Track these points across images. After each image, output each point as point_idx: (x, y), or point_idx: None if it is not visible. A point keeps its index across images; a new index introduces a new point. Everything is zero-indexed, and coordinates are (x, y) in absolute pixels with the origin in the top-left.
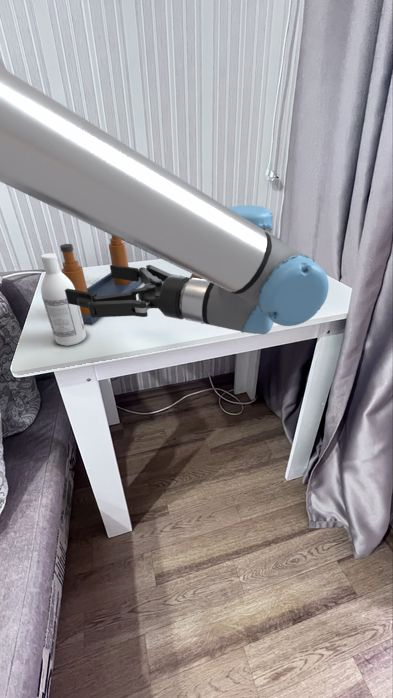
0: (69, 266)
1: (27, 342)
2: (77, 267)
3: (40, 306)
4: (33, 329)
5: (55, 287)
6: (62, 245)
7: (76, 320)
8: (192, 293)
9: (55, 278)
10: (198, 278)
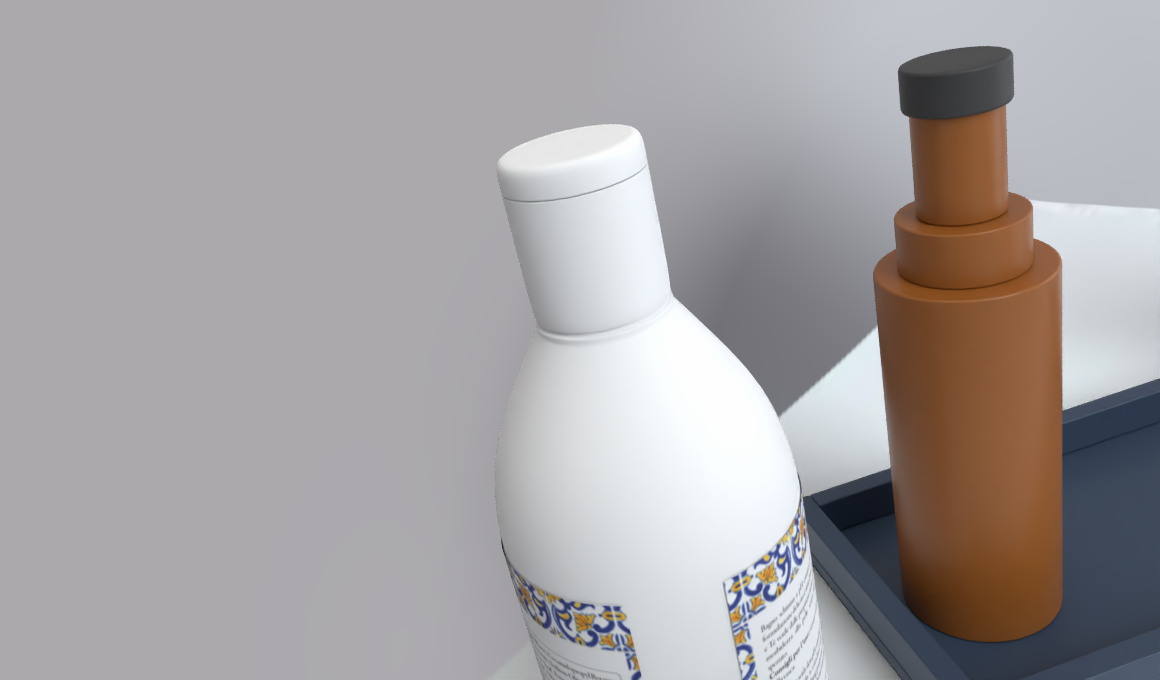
0: (928, 244)
1: (517, 672)
2: (1002, 263)
3: (808, 413)
4: None
5: (540, 474)
6: (926, 58)
7: None
8: None
9: (567, 387)
10: None
